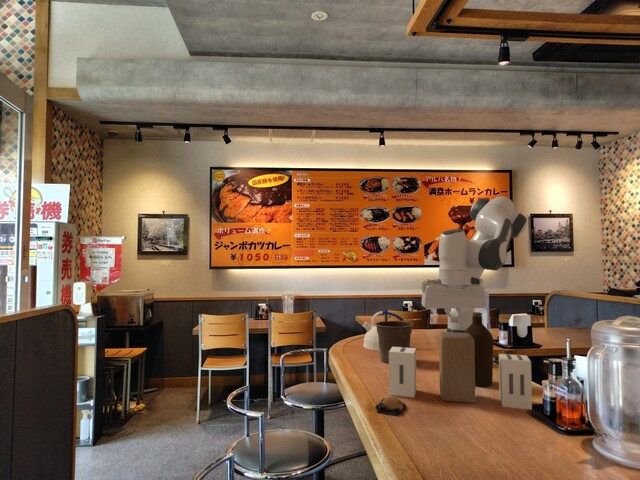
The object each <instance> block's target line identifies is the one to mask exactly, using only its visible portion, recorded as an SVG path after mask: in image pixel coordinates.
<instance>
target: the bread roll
mask: <svg viewBox="0 0 640 480" xmlns="http://www.w3.org/2000/svg"><path fill="white" fill-rule="evenodd" d="M374 407H375V412H376V414H380V415H385V416H389V417H390V416H391V417H392V416H393V417H401V416H402V415H403V413H404V411H405V410H406V408H407V406H406V403H405V402H402V400H400V399H399V398H398V397H397V396H387V397H385V398H382V399H380V402H378V403H377V404H375V406H374Z"/></svg>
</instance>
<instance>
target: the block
mask: <svg viewBox="0 0 640 480" xmlns="http://www.w3.org/2000/svg"><path fill="white" fill-rule="evenodd" d="M438 336H439V337H438V339H439V340H438V342H439V343H438V347H439V348H438V350H439V351H438V352H439V354H438V355H439V358H438V359H439V363H438V364H439V392H440V396H441V400H442V401H444V402H452V403H453V402H454V403H455V402H456V403H464V404H465V403H466V404H473V403H475V401H476V386H475V343H474V339H473V337H472V336H471V335H470V334H469V333H454V332H447V331H441V332H440V333H439V335H438Z"/></svg>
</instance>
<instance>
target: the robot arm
mask: <svg viewBox="0 0 640 480" xmlns="http://www.w3.org/2000/svg"><path fill="white" fill-rule="evenodd" d="M469 216H470V219H471V220H473V221H474V222H475V226H476V229H477V230H476V231H475V233H474V234H473V236H472V238H471V239H470V240H469V239H468V238H466V233H465V230H463V229H449V230H444V231H442V232H441V233H440V236H439V241H438V243H439V244H438V258H439V268H438V278H437V279H435V278H433V279H425V280H424V281H423V282H422V283H421V291H422V294H421V305H422V306H423V308H424V309H444V312H445V313H446V315H447V327H446V332H454V333H464V331H465V330H466V329H467V328H468V327H469V326H470V325H471V324H472V316H473V314H472V313H473V312H475V309H484V308H485V307H486V305H487V296H486V290H485V288H484V287H483V284H484V280H483V279H482V278H481V276H482V275H483V272H484V271H485V270H487V271H488V270H489V271H498V270H499V269H501V268H502V267H503V266H504V265H505V264H506V262H507V261H506V260H507V257H508V255H507V254H508V249H509V246H510V243H511V239H516V238H518V237H519V236H521V235H522V234H523V233H524V232H525V230H526V227H527V221H528V218H527V217H526V216H525V215H524V214H522V213H521V212H520V213H519V212H518V211H516V210H515V204H514V203H513V201H512V200H511V199H510V198H509V197H507V196H496V197H493V198H492V199H491V200H490V198H485V197H482V198H478V199H477V200H476V201H475V202H473V204H472V206H471V208H470V213H469ZM495 361H496V358H495V357H494V356H493V362H495Z"/></svg>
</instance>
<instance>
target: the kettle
mask: <svg viewBox="0 0 640 480" xmlns="http://www.w3.org/2000/svg"><path fill="white" fill-rule="evenodd" d="M379 315H389V316H392V317H394V318H396V319H397V320H398V321H403V322H404V318H402V317H401V316H399V315H397V314H396V313H394V312H391V311H385V310H382V311H377V312H376V313H375V314H373V316H372V318H371V324H370V323H369V322H368V321H365V322H364V323H363V325H362V327H363V328H364V329H365V330H366V333H365V335H364V337H363V338H364V339H363V348H365V349H367V350H369V351H378V352H380V347H379V338H378V333H377V327H376V325H375V323H376V318H377V317H378V316H379Z"/></svg>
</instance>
